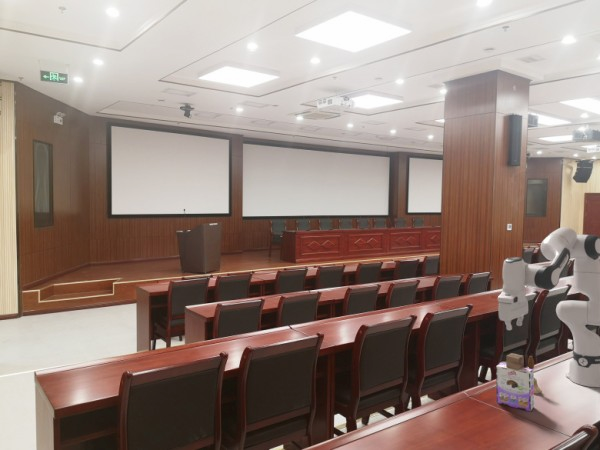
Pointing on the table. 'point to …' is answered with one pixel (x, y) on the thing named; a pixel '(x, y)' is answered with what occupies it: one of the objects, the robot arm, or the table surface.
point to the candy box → (515, 387)
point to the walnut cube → (515, 361)
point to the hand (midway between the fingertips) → (514, 327)
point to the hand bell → (536, 388)
